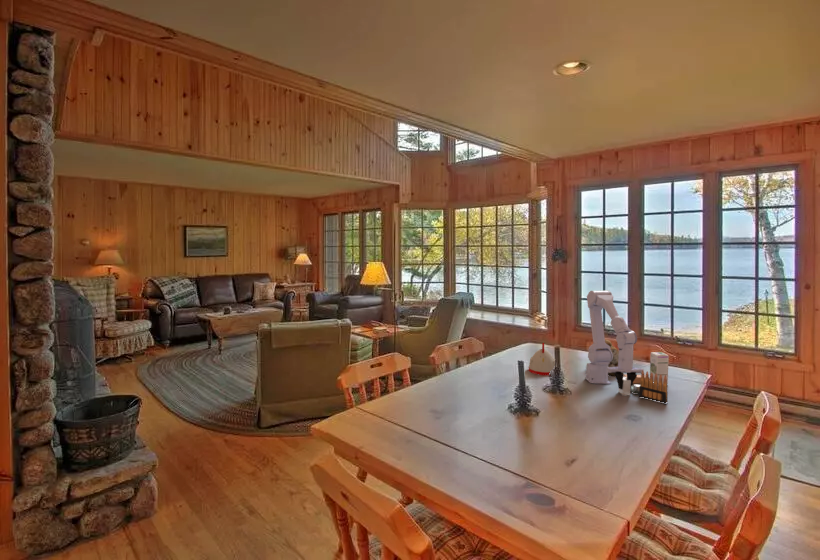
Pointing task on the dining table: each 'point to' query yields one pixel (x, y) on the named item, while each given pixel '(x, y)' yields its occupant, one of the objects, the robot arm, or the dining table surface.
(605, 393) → the dining table surface
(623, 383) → the steel block
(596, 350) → the robot arm
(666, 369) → the syrup box
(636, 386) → the vise
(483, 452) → the dining table surface
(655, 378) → the ammunition clip
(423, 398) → the dining table surface
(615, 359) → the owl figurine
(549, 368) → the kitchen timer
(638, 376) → the block
